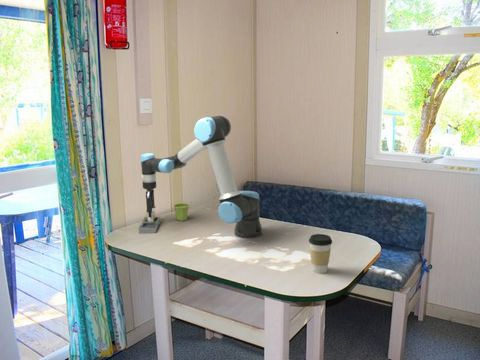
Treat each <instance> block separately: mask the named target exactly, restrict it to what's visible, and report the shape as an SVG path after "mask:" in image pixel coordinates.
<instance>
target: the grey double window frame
mask: <svg viewBox="0 0 480 360" xmlns="http://www.w3.org/2000/svg"><path fill="white" fill-rule="evenodd" d="M161 222H162V219H161V216H156V221H146V216H145V217H144V218H143V219H142V222H141V224H140V225H139V227H138V234H157V232H158V229H159V226H160V225H161Z"/></svg>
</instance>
